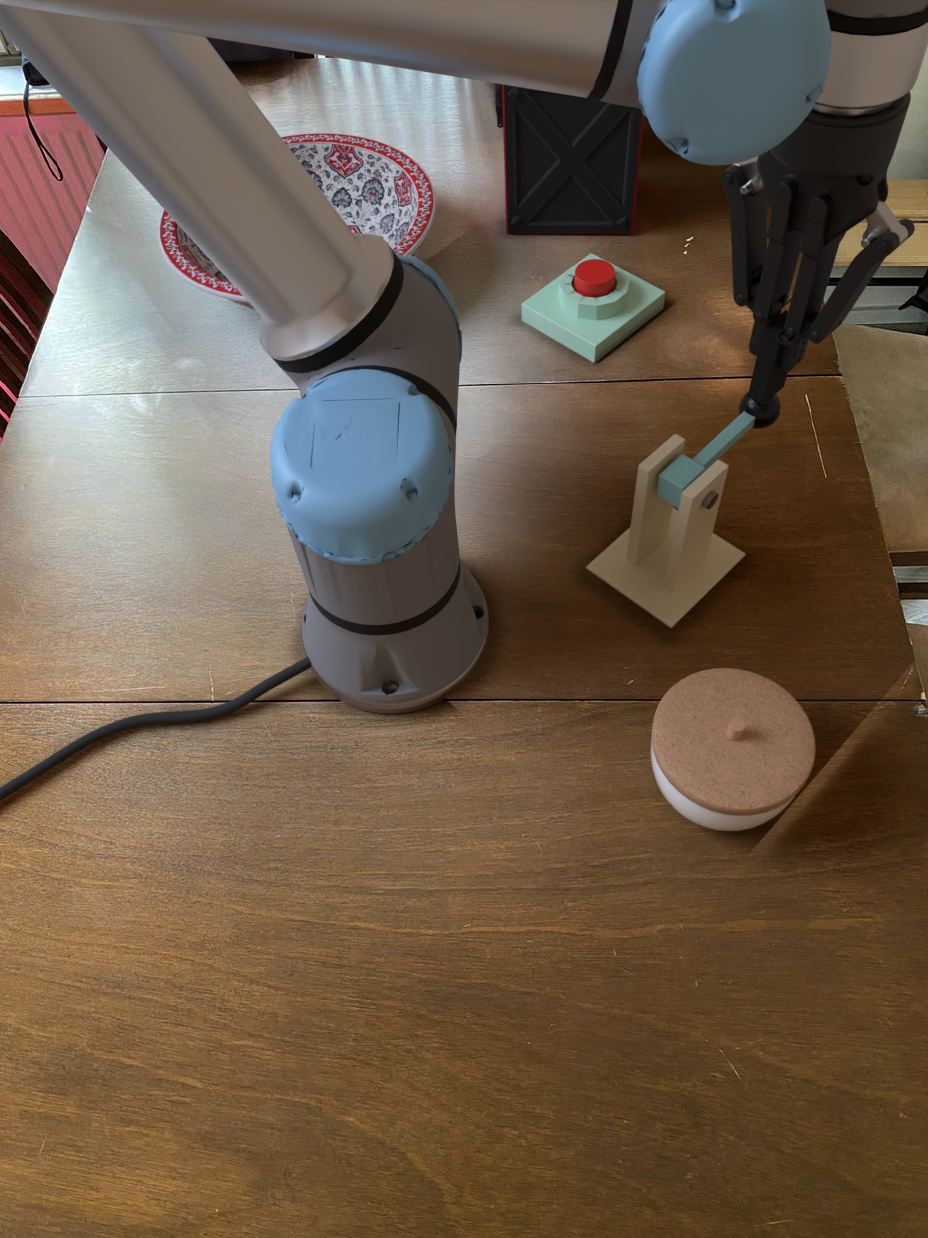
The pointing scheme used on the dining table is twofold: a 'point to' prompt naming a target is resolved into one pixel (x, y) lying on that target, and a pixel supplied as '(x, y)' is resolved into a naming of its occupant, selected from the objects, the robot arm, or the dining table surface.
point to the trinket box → (730, 748)
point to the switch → (715, 448)
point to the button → (594, 278)
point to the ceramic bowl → (332, 202)
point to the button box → (592, 312)
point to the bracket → (669, 541)
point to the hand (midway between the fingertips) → (765, 391)
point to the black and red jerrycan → (568, 162)
